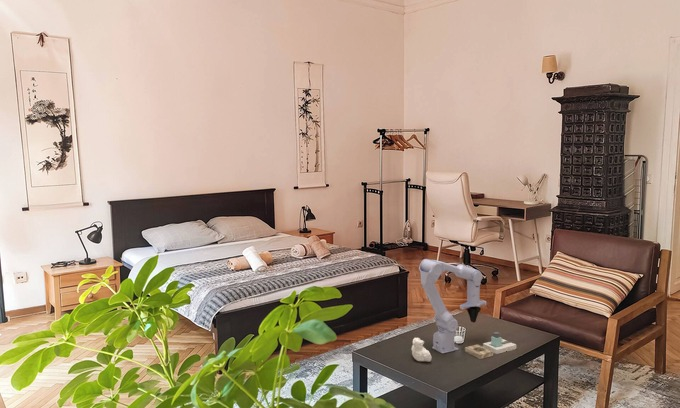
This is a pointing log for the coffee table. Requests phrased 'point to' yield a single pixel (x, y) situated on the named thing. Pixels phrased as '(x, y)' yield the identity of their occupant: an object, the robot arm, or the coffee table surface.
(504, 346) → the port housing
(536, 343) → the coffee table surface
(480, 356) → the holster
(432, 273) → the robot arm
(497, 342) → the plug
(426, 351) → the white animal figurine
